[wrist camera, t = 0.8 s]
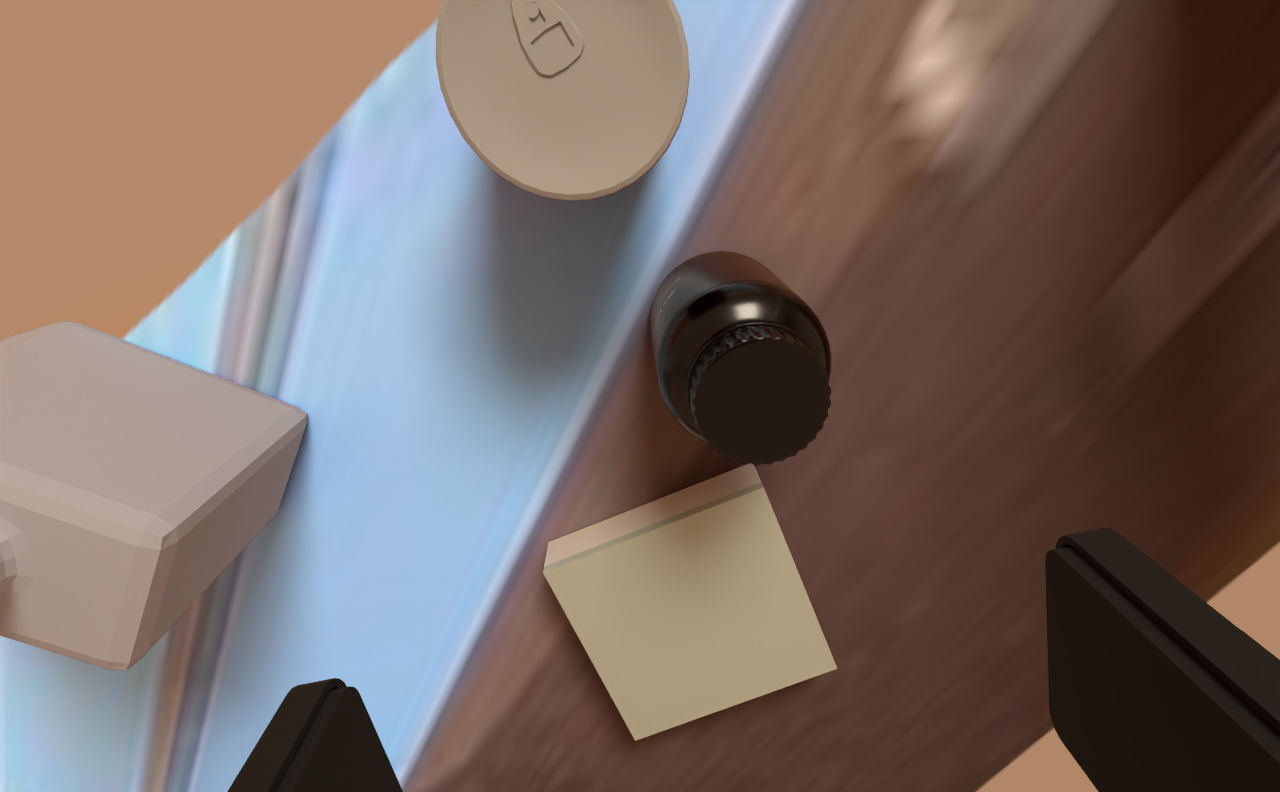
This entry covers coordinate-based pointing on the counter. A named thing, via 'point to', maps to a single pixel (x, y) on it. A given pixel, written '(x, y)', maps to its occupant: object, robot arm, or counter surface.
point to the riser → (689, 603)
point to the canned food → (564, 88)
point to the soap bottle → (124, 488)
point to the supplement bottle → (740, 358)
